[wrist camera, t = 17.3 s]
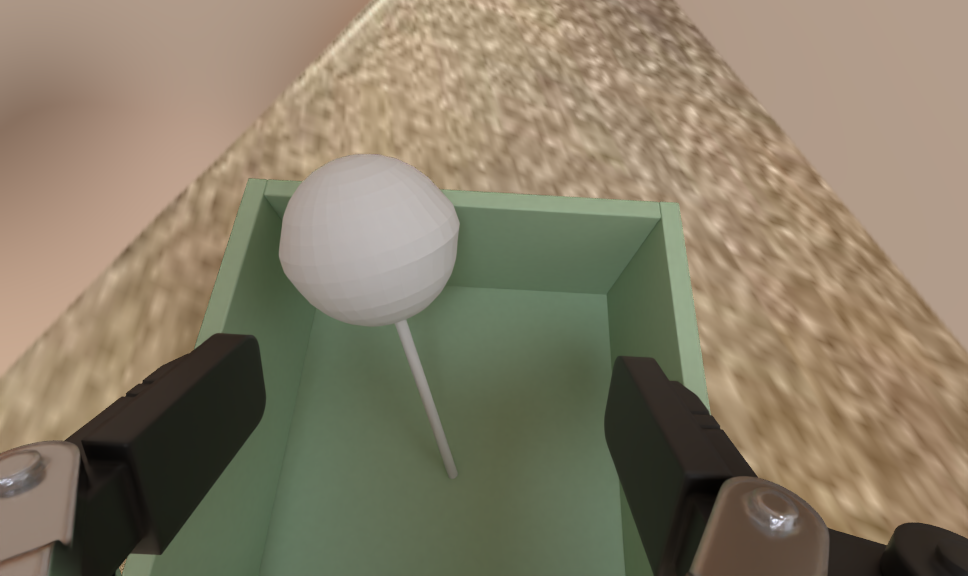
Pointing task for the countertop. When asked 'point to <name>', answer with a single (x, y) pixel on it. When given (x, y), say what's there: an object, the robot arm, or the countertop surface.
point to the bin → (446, 401)
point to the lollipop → (373, 251)
